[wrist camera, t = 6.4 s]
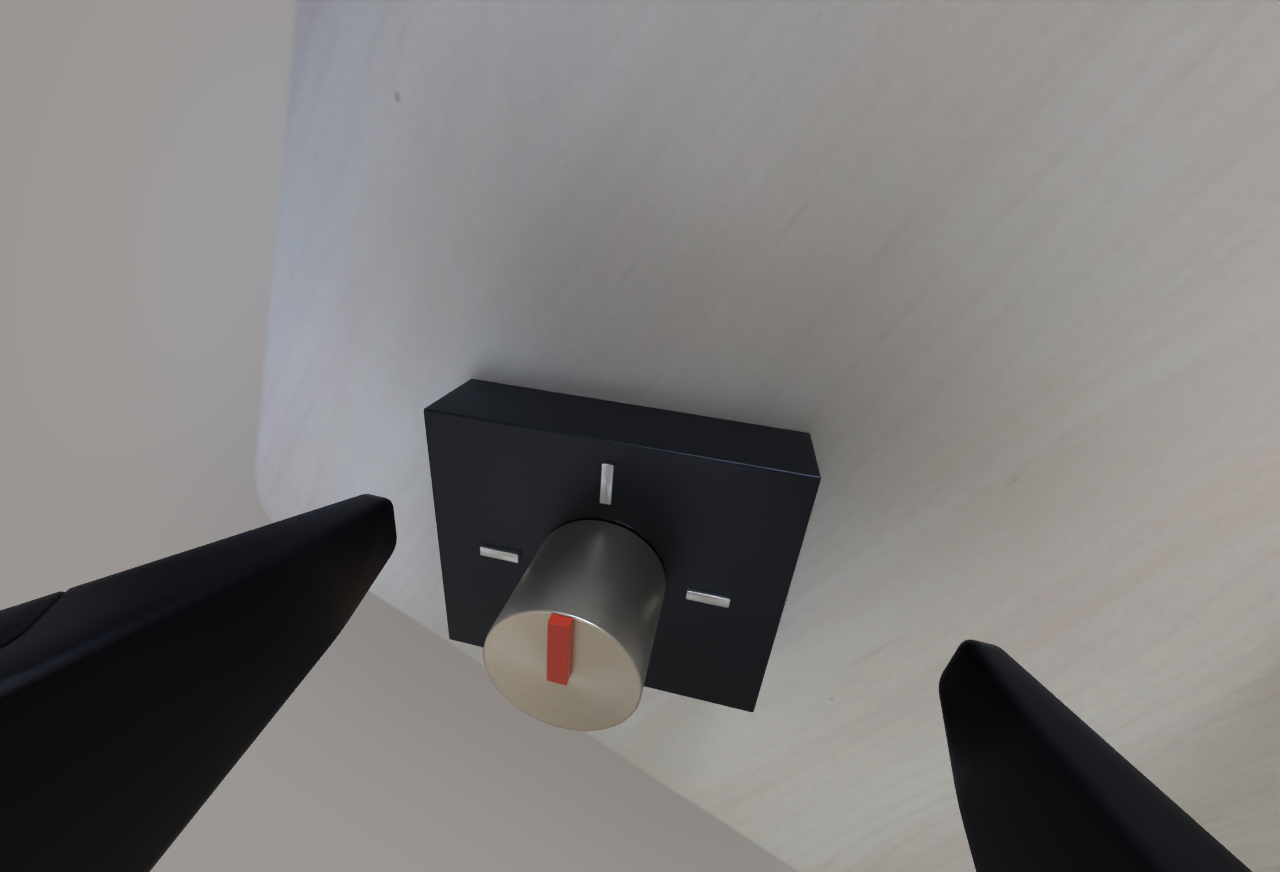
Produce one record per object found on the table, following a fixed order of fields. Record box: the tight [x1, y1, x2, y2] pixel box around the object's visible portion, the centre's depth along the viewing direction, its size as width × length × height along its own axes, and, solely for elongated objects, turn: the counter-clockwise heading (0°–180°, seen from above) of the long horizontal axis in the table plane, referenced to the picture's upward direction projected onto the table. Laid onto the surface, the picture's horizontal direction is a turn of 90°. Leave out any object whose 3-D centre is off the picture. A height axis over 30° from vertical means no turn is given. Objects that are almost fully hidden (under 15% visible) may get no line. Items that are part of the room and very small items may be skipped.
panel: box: [424, 379, 821, 712], centre depth 18 cm, size 12×10×3 cm
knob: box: [483, 520, 666, 731], centre depth 15 cm, size 4×4×4 cm
